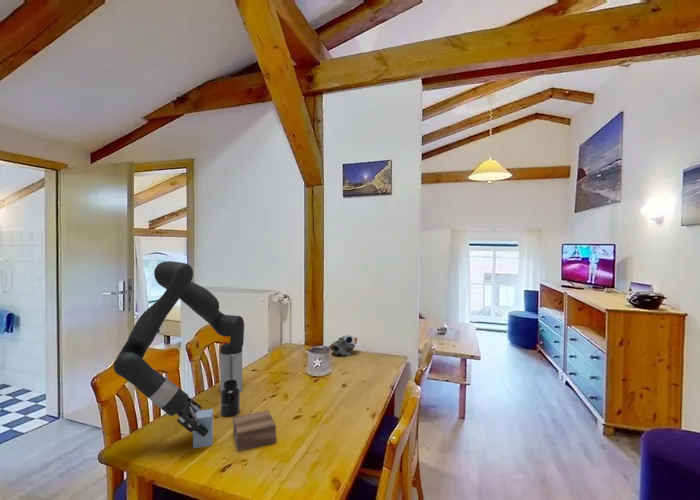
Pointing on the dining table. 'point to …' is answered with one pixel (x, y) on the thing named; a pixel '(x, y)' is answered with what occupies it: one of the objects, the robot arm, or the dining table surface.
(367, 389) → the dining table surface
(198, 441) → the blue-gray rectangular block
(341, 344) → the grey toy figure
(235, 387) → the supplement bottle
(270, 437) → the walnut box
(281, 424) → the dining table surface
